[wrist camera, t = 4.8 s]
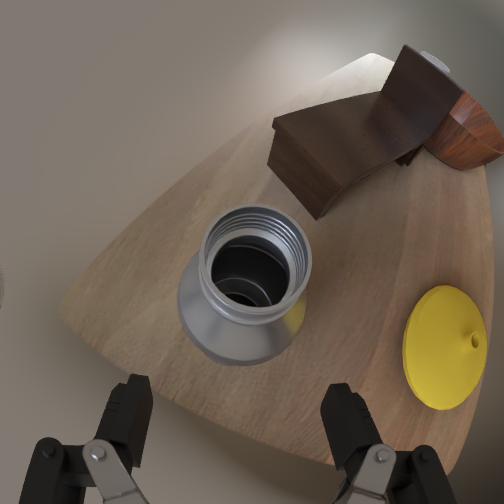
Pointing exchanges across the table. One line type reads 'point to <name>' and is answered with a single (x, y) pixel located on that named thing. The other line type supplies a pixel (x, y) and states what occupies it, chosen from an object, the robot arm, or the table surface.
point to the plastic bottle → (246, 286)
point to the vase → (444, 347)
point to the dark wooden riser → (361, 132)
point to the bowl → (467, 136)
